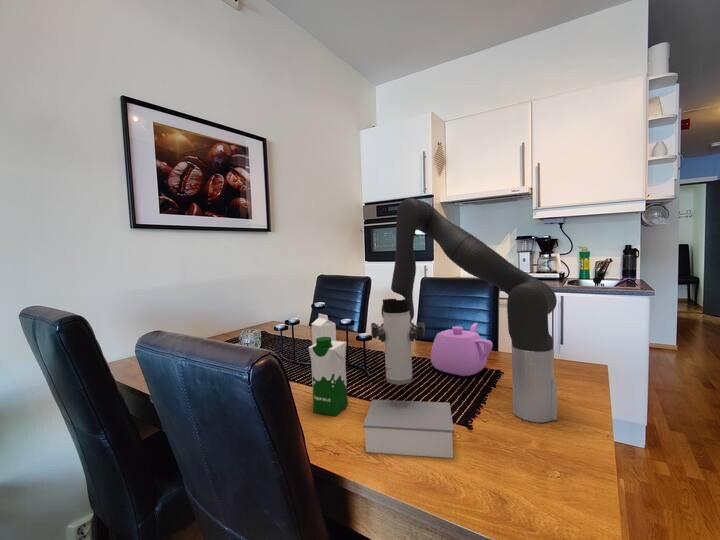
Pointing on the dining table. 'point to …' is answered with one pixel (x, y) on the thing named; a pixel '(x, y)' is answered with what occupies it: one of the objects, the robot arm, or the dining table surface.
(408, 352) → the travel mug
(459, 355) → the teapot
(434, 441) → the box with lid
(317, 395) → the milk carton
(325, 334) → the milk
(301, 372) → the dining table surface
